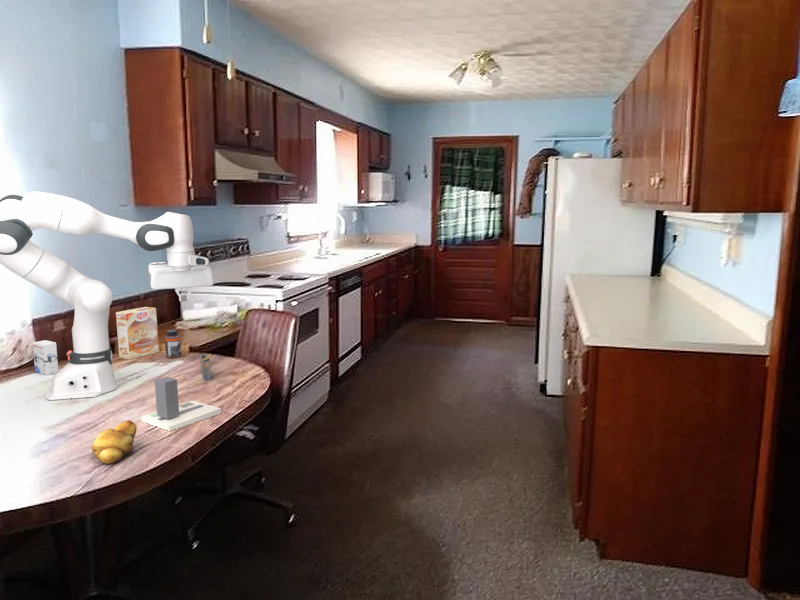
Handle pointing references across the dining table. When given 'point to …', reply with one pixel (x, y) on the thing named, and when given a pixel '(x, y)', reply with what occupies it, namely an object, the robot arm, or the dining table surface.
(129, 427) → the bread roll
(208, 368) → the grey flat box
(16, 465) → the dining table surface
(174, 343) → the supplement bottle
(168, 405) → the switch tab
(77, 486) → the dining table surface
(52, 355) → the ink box
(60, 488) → the dining table surface
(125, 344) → the coffeecake box
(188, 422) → the switch panel
